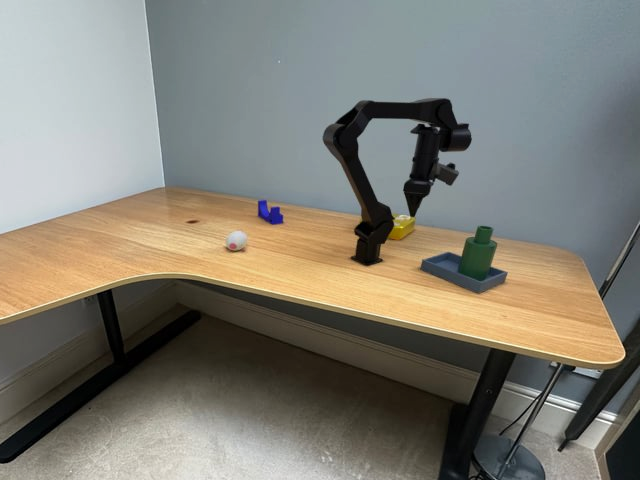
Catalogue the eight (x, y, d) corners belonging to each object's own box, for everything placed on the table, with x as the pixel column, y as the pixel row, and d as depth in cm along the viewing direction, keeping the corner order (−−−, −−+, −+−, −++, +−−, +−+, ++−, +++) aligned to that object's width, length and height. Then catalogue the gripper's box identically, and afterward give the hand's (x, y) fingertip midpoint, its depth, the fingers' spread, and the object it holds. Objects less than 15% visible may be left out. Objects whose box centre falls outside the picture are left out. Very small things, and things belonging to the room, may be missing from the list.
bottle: (471, 284, 91) (486, 233, 85) (450, 273, 97) (463, 224, 91) (492, 280, 93) (508, 230, 87) (471, 269, 98) (485, 222, 92)
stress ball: (238, 254, 118) (228, 235, 118) (256, 245, 113) (246, 225, 113) (224, 261, 113) (213, 242, 112) (242, 251, 107) (231, 231, 107)
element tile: (374, 221, 138) (376, 208, 136) (415, 229, 130) (417, 216, 128) (356, 231, 128) (357, 218, 126) (399, 241, 119) (401, 226, 117)
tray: (478, 293, 88) (481, 283, 87) (419, 269, 100) (422, 259, 99) (504, 282, 93) (508, 272, 92) (446, 260, 105) (448, 251, 104)
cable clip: (283, 223, 137) (283, 207, 134) (272, 224, 135) (272, 208, 132) (268, 214, 146) (268, 199, 144) (258, 216, 145) (258, 200, 142)
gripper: (460, 160, 85) (444, 226, 92) (462, 150, 99) (448, 207, 106) (408, 156, 89) (397, 220, 96) (418, 148, 104) (407, 203, 111)
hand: (414, 212), depth 102 cm, fingers open, 9 cm apart
